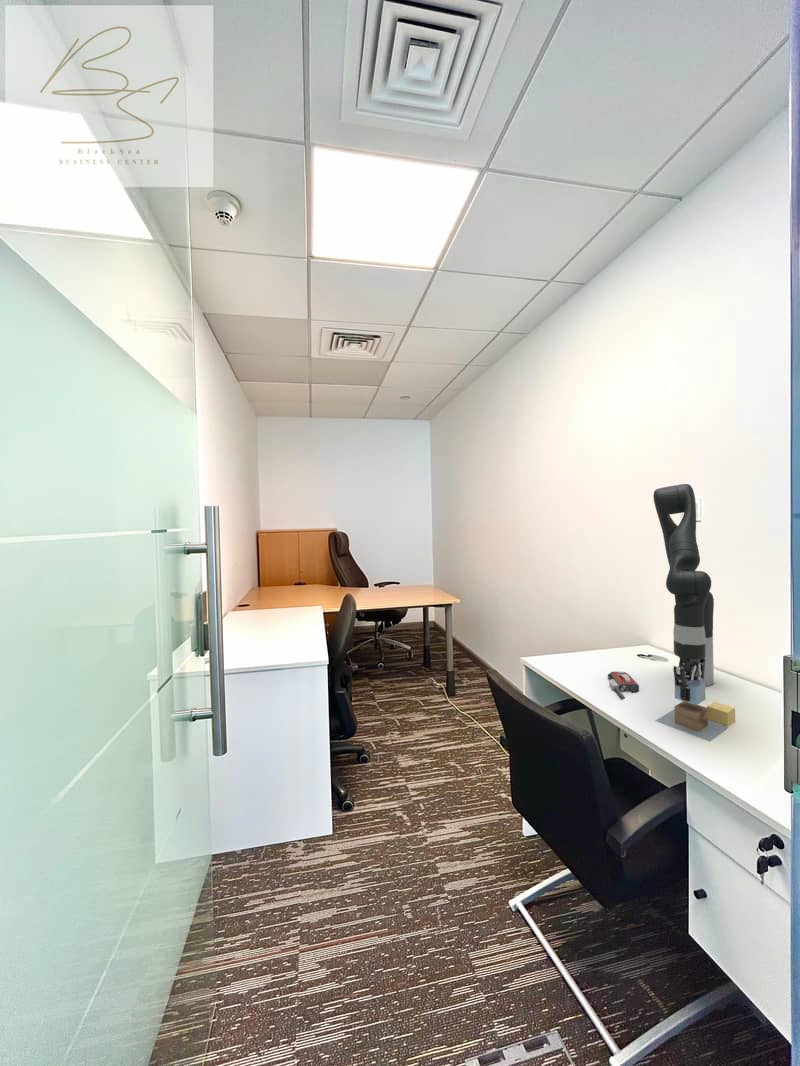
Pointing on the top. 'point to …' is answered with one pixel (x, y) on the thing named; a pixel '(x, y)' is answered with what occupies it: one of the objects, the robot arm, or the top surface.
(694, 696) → the blue brick
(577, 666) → the top surface
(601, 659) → the top surface
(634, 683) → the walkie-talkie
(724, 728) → the slate board
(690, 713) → the walnut brick
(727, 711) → the ochre brick
